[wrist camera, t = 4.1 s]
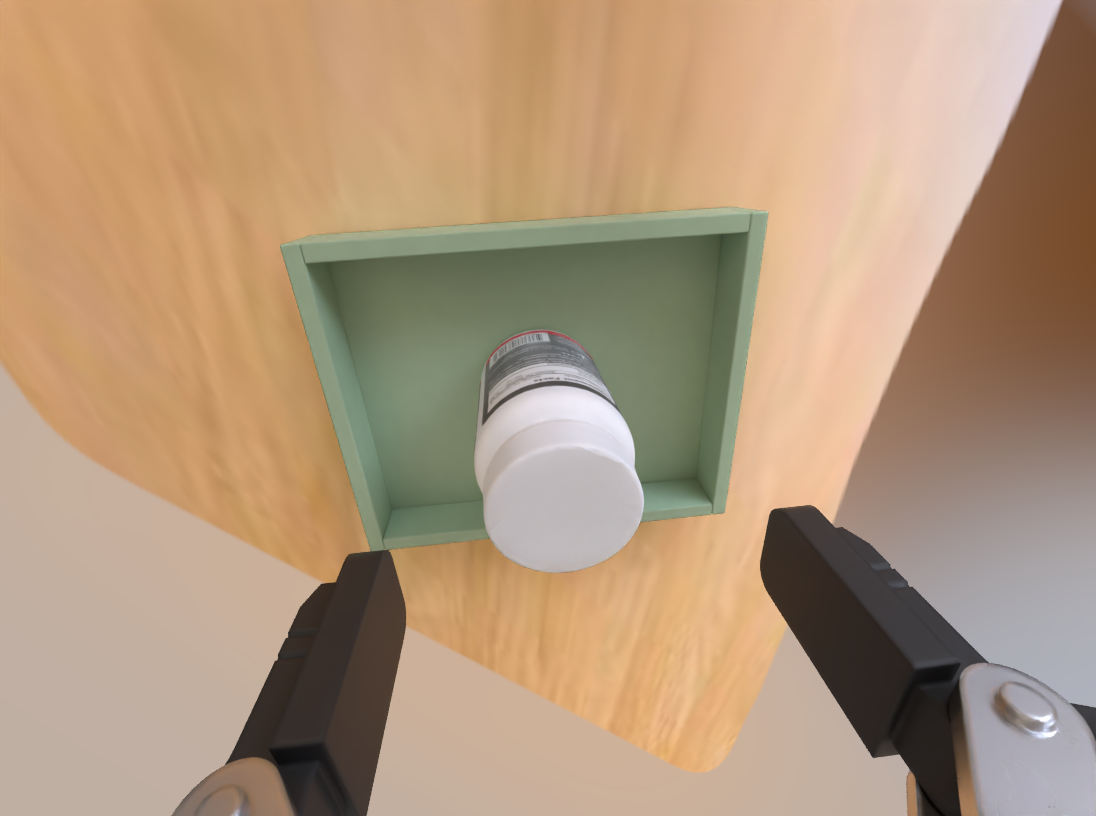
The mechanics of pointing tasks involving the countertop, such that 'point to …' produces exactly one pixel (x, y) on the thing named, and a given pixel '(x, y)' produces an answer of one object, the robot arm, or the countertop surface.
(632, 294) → the tray
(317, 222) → the countertop surface
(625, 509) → the pill bottle
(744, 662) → the countertop surface
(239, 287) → the countertop surface
